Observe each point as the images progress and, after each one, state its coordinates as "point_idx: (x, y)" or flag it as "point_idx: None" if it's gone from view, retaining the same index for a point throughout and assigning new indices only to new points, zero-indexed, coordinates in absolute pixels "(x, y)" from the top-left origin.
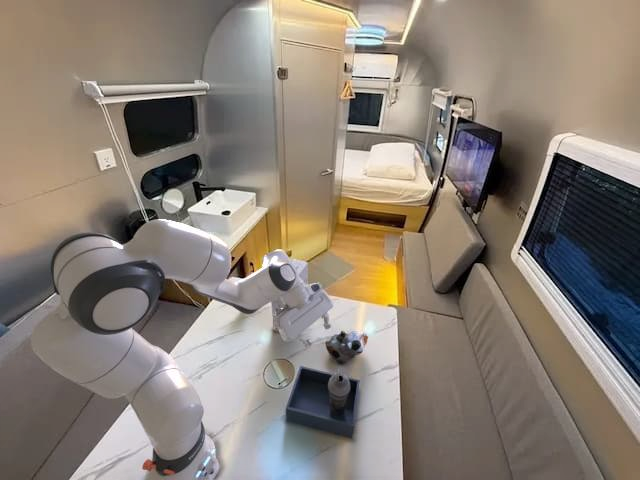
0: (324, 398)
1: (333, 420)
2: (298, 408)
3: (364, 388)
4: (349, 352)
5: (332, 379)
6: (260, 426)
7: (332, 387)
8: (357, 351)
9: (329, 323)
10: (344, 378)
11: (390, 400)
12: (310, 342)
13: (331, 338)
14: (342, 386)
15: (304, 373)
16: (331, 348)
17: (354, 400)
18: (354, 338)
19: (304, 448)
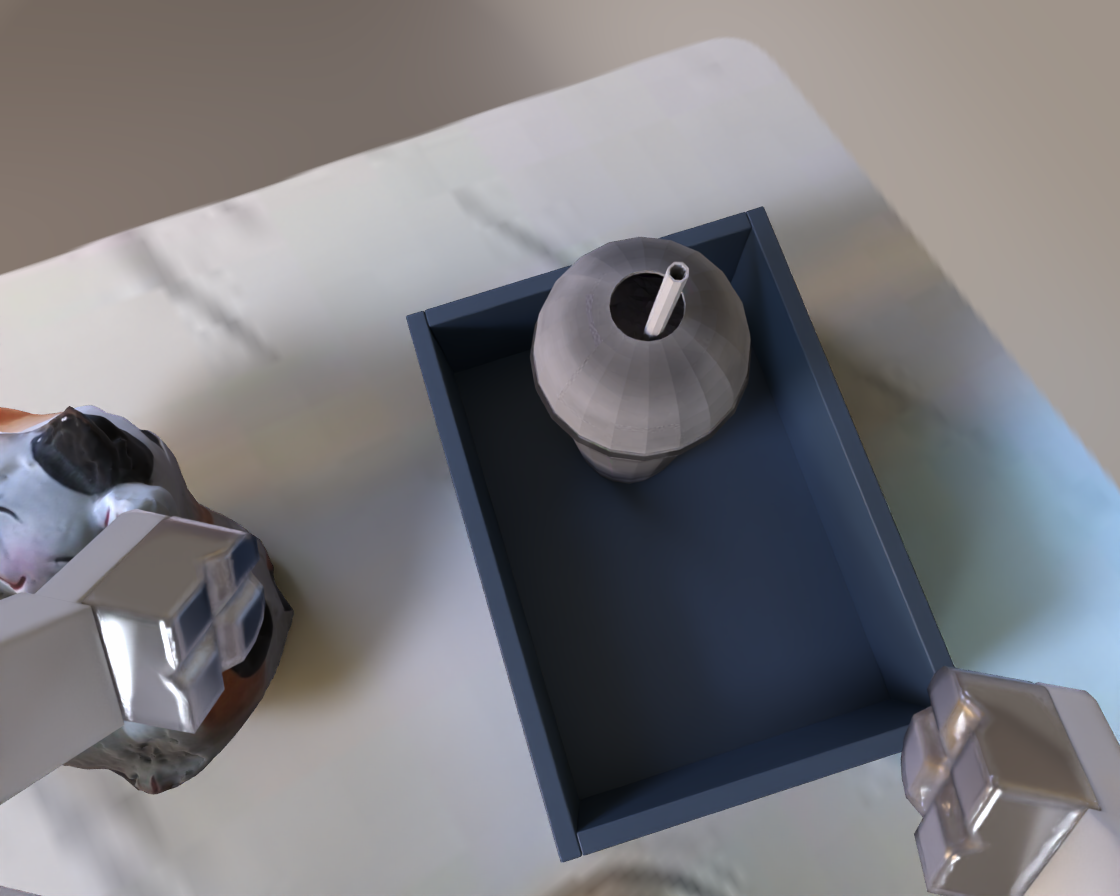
0: (620, 544)
1: (814, 343)
2: (797, 674)
3: (388, 341)
4: (181, 514)
5: (682, 382)
6: None
7: (739, 357)
8: (148, 439)
9: (87, 559)
10: (614, 271)
11: (383, 172)
12: (961, 690)
13: (95, 757)
14: (694, 260)
15: (568, 788)
16: None
17: (517, 352)
18: (25, 488)
19: (960, 498)
